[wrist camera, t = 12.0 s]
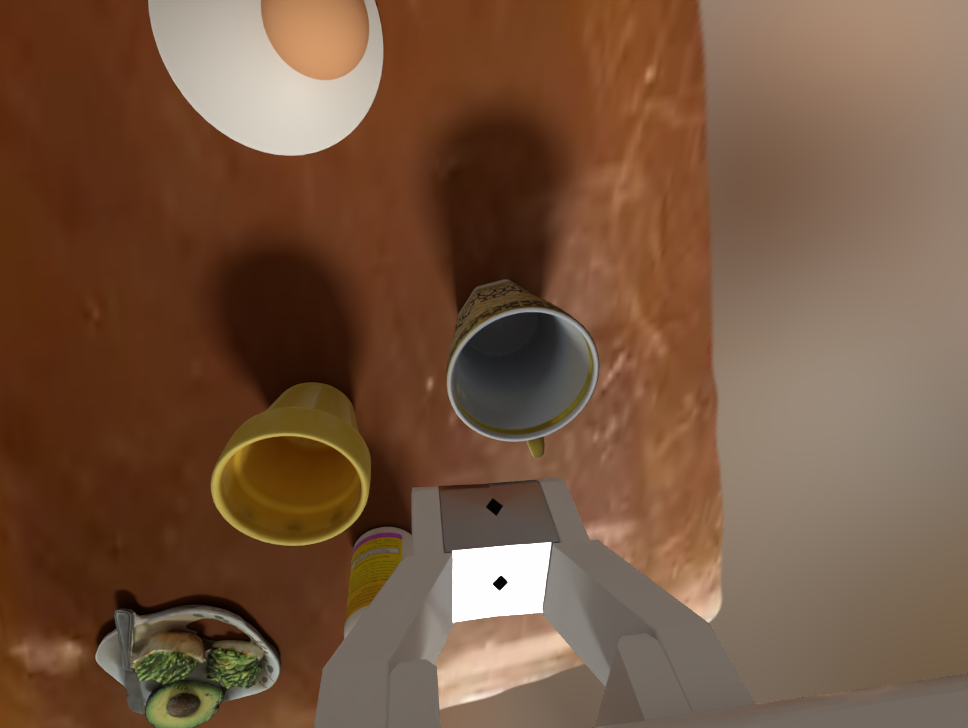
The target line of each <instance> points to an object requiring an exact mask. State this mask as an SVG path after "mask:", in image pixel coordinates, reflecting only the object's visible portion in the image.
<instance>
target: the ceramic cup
mask: <svg viewBox="0 0 968 728" xmlns="http://www.w3.org/2000/svg"><path fill="white" fill-rule="evenodd" d="M598 376H599V355H598V351H597V348H596V345H595V343H594V341H593V339H592V337H591V335H590V334H589V332H588V331H587V330H586V329H585V327H584V326H583V325H582V324H580V323H579V322H578V321H577V320H576V319H574V318H573V317H572V316H571V315H569V314H568V313H566V312H565V311H563V310H562V309H560V308H558V307H557V306H555V305H553V304H552V303H550V302H548V301H546V300H544V299H541V298H539V297H537V296H536V295H534V294H532V293H531V292H529V291H527V290H526V289H524V288H522V287H521V286H519V285H517V284H516V283H514V282H512V281H510V280H508V279H504V280H500V281H496V282H492V283H488V284H484V285H480V286H477V287H476V288H475V289H474V290H473V292H472V293H471V295H470V297H469V298H468V300H467V301H466V303H465V304H464V306H463V307H462V309H461V311H460V312H459V314H458V317H457V321H456V327H455V332H454V337H453V342H452V345H451V348H450V353H449V359H448V366H447V391H448V395H449V399H450V402H451V404H452V406H453V408H454V410H455V412H456V413H457V415H458V416H459V418H460V419H461V420H462V421H463V422H464V423H465V424H466V425H467V426H469V427H470V428H471V429H473V430H474V431H476V432H478V433H480V434H482V435H484V436H486V437H489V438H493V439H496V440H502V441H526V440H527V444H528V447H529V449H530V452H531V454H532V456H533V457H534V458H538V457H541V456H542V455H543V454H544V437H543V436H546V435H548V434H551V433H553V432H555V431H557V430H559V429H560V428H562V427H564V426H565V425H566V424H568V423H569V422H570V421H572V420H573V419H574V418H575V417H576V416H577V415H578V414H579V413H580V412H581V411H582V410H583V409H584V407H585V406H586V405H587V403H588V402H589V400H590V398H591V397H592V395H593V392H594V390H595V387H596V384H597V381H598Z"/></svg>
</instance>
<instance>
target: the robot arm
mask: <svg viewBox="0 0 968 728" xmlns="http://www.w3.org/2000/svg"><path fill="white" fill-rule="evenodd" d="M411 499H412V556H409V557H404V558H403V559H402V561H401V562H400V563H399V565H398V566H397V568H396V569H395V570H394V572H393V573H392V574H391V576H390V577H389V579H388V580H387V581H386V583H385V584H384V585H383V587H382V588H381V590H380V591H379V592H378V594H377V595H376V596H375V598H374V599H373V601H372V602H371V603H370V605H369V606H368V607H367V609H366V610H365V612H364V613H363V614H362V616H361V617H360V618H359V620H358V621H357V623H356V624H355V625H354V627H353V628H352V629H351V631H350V632H349V634H348V635H347V636H346V638H345V639H344V640H343V642H342V643H341V645H340V646H339V647H338V649H337V650H336V651H335V653H334V654H333V656H332V657H331V658H330V660H329V661H328V662H327V664H326V665H325V667H324V668H323V672H322V678H321V685H320V692H319V698H318V705H317V711H316V718H315V724H314V728H441V727H440V711H439V696H438V680H437V667H436V666H435V663H436V660H437V658H438V656H439V654H440V652H441V650H442V648H443V645H444V643H445V641H446V639H447V637H448V635H449V633H450V630H451V628H452V626H453V622H456V621H463V620H470V619H478V618H485V617H492V616H501V615H513V614H525V613H538V612H543V616H544V617H545V618H546V619H547V620H548V621H549V622H550V624H551V625H552V626H553V627H554V628H555V629H556V630H557V632H558V633H559V634H560V635H561V636H562V637H563V639H564V640H565V641H566V642H567V643H568V644H569V645H570V647H571V648H572V649H573V650H574V651H575V652H576V654H577V655H578V656H579V657H580V658H581V659H582V660H583V662H584V663H585V664H586V665H587V666H588V667H589V668H590V670H591V671H592V672H593V673H594V674H595V675H596V677H597V678H598V679H599V680H600V681H601V682H602V683H603V685H604V686H605V691H604V695H603V698H602V702H601V706H600V709H599V713H598V716H597V720H596V723H595V727H594V728H968V673H967V674H960V675H953V676H946V677H939V678H933V679H926V680H919V681H912V682H905V683H898V684H891V685H884V686H878V687H871V688H864V689H857V690H850V691H843V692H837V693H829V694H822V695H816V696H809V697H802V698H795V699H788V700H781V701H774V702H768V703H761V704H755V702H754V700H753V698H752V697H751V695H750V693H749V691H748V689H747V688H746V687H745V684H744V683H743V681H742V679H741V677H740V676H739V674H738V672H737V670H736V669H735V667H734V665H733V663H732V662H731V660H730V658H729V657H728V655H727V653H726V651H725V650H724V648H723V646H722V645H721V643H720V641H719V639H718V637H717V636H716V634H715V632H714V630H713V629H712V627H711V625H710V624H709V623H708V622H707V621H705V620H704V619H703V618H701V617H700V616H699V615H697V614H696V613H695V612H693V611H692V610H691V609H689V608H688V607H687V606H685V605H684V604H683V603H681V602H680V601H679V600H677V599H676V598H675V597H673V596H672V595H671V594H669V593H668V592H667V591H665V590H664V589H663V588H661V587H660V586H659V585H657V584H656V583H655V582H653V581H652V580H651V579H649V578H648V577H647V576H645V575H644V574H643V573H641V572H640V571H639V570H637V569H636V568H635V567H633V566H632V565H631V564H629V563H628V562H627V561H625V560H624V559H623V558H621V557H620V556H619V555H617V554H616V553H615V552H613V551H612V550H611V549H609V548H608V547H607V546H605V545H604V544H603V543H601V542H600V541H599V540H590V539H589V537H588V535H587V532H586V530H585V527H584V525H583V523H582V520H581V518H580V516H579V513H578V511H577V509H576V506H575V504H574V501H573V499H572V497H571V494H570V492H569V490H568V487H567V485H566V482H565V480H564V479H562V478H561V477H558V478H547V479H537V480H526V481H514V482H501V483H489V484H471V485H450V486H439V489H438V487H419V488H412V493H411Z"/></svg>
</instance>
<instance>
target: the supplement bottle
mask: <svg viewBox="0 0 968 728" xmlns="http://www.w3.org/2000/svg"><path fill="white" fill-rule="evenodd" d="M409 556H412V535H411V534H410V533H408V532H407V531H405V530H402V529H400V528H396V527H380V528H376V529H372V530H370V531H368V532H366V533H365V534H363V535H362V536H361V537H360V538H359V539H358V540H357V542H356V543H355V545H354V548H353V554H352V563H351V572H350V582H349V591H348V600H347V609H346V617H345V626H344V639H345V638H346V636H347V635H348V634H349V632H350V631H351V629H352V628H353V627H354V625H355V624H356V623H357V621H358V620H359V618H360V617H361V616H362V614H363V613H364V612H365V610H366V609H367V607H368V606H369V605H370V603H371V602H372V601H373V599H374V598H375V596H376V595H377V594H378V592H379V591H380V590H381V588H382V587H383V585H384V584H385V583H386V581H387V580H388V579H389V577H390V576H391V574H392V573H393V572H394V570H395V569H396V568H397V566H398V565H399V563H400V562H401V561H402V559H403V558H404V557H409Z"/></svg>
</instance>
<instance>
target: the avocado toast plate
mask: <svg viewBox="0 0 968 728" xmlns="http://www.w3.org/2000/svg"><path fill="white" fill-rule="evenodd" d="M114 618H115V624H116V629H114V630H113V631H112V632H110V633H109V634H107V635H106V636H105V637H104V638H103V640H102V642H101V643H100V645H99V647H98V650H97V653H96V661H97V663H98V664H99V665H100V666H101V667H102V668H103V669H104V670H105V671H107V672H108V673H109V674H110V675H111V676H113V677H114V678H115V679H116V680H118V681H119V682H120V683H121V684H123V685H124V686H125V687H126V692H127V693H128V695H127V696H126V698H127V702H128V704H129V707H130V709H131V710H132V711H133V712H137V713H140V714H143V713H145V717H146V719H147V720H148V722H149V723H150V724H151V725H152V726H154V727H155V728H192V727H195V726H198V725H200V724H203V723H204V722H206V721H208V720H210V719H211V718H212V717H213V715H214V714H215V713H217V712H218V711H219V705H220V704H221V703H222V702H226V701H229V700H233V699H238V698H241V697H244V696H249V695H253V694H256V693H259V692H262V691H264V690H266V689H268V688H270V687H271V686H272V685H273V684H274V683H275V682H276V680H277V678H278V676H279V673H280V669H281V661H280V658H279V654H278V652H277V650H276V648H275V647H274V646H273V645H272V644H270V643H269V642H268V641H266V640H265V639H264V638H263V637H262V635H261V634H260V633H259V632H258V630H257V629H255V628H254V627H253V626H252V625H250V624H249V623H247V622H246V621H245V620H243V618H242V617H240V616H239V615H237V614H235V613H232V612H230V611H228V610H225V609H222V608H218V607H213V606H206V605H183V606H178V607H174V608H170V609H167V610H163V611H160V612H156V613H151V614H146V615H137V614H136V613H135V612H134V611H133V610H131V609H126V608H119V609H117V610H116V611H115V614H114ZM201 618H210V619H215V620H219V621H223V622H226V623H229V624H231V625H233V626H235V627H237V628H239V629H240V630H242V631H243V632H244V633H245V634H247V635H248V636H249V637H250V638H251V641H243V640H223V641H211V640H207V639H205V638H202V637H199V636H198V635H197V632H196V631H193V630H189V629H187V627H186V625H188V624H190V623H192V622H194V621H196V620H199V619H201Z"/></svg>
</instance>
